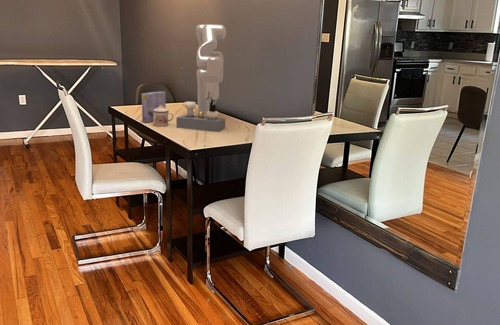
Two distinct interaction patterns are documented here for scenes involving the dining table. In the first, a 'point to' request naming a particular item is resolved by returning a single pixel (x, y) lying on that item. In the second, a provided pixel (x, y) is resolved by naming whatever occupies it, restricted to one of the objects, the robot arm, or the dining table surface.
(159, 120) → the teacup with lid
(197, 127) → the mount
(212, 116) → the ivory knob
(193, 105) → the ivory knob
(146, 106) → the cake pan box
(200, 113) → the brass ball
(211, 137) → the dining table surface
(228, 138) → the dining table surface
